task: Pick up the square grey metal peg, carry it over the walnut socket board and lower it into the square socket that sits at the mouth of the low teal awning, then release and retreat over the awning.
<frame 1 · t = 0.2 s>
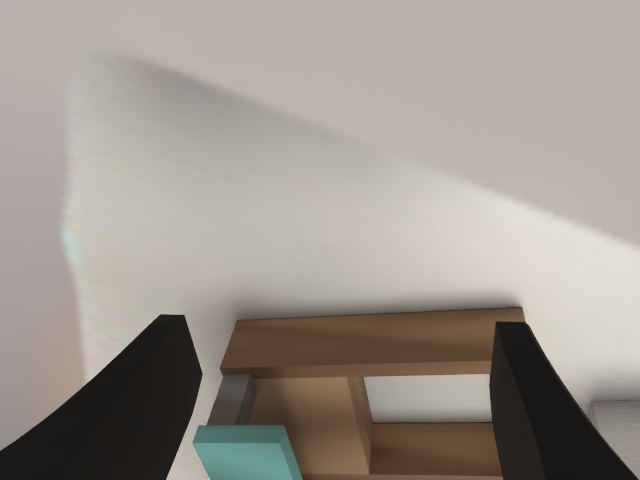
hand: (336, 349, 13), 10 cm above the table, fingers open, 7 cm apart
socket board: (386, 395, 29), on the table
peg: (638, 430, 28), on the table
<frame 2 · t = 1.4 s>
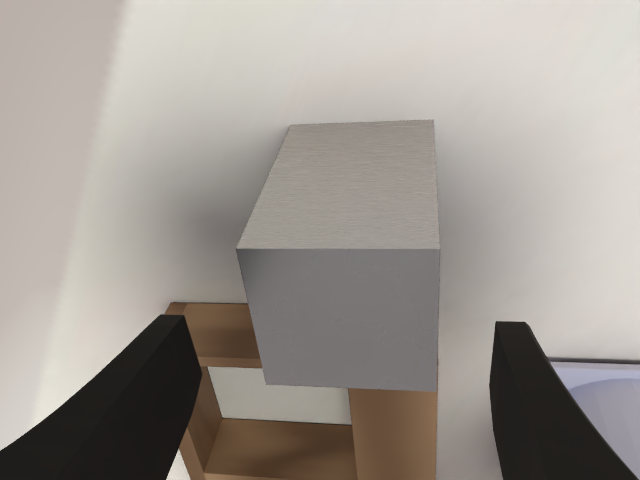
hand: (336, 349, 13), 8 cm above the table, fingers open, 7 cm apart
socket board: (314, 410, 27), on the table
peg: (364, 184, 20), on the table
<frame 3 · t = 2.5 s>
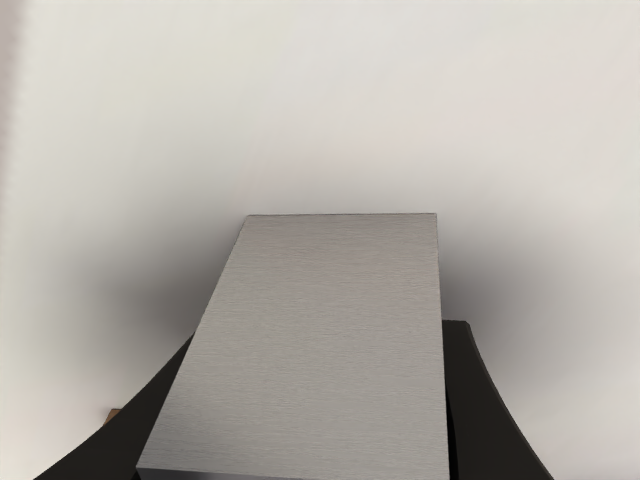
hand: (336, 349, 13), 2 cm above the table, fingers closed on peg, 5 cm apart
peg: (346, 288, 15), on the table, touching gripper
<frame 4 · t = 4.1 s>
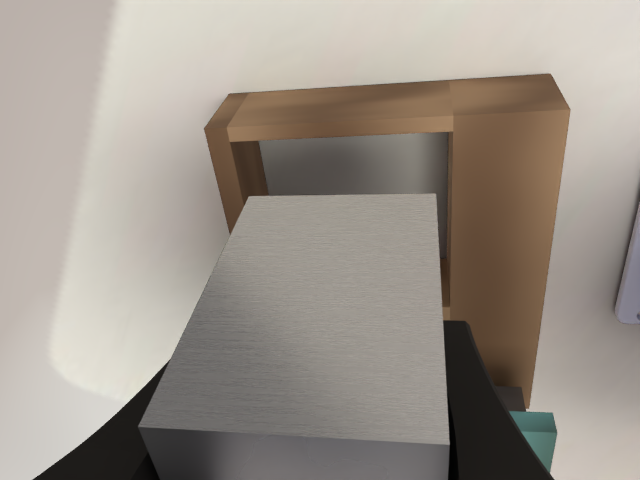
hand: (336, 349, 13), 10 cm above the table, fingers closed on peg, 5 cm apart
socket board: (390, 239, 23), on the table
peg: (346, 270, 15), point 7 cm above the table, touching gripper
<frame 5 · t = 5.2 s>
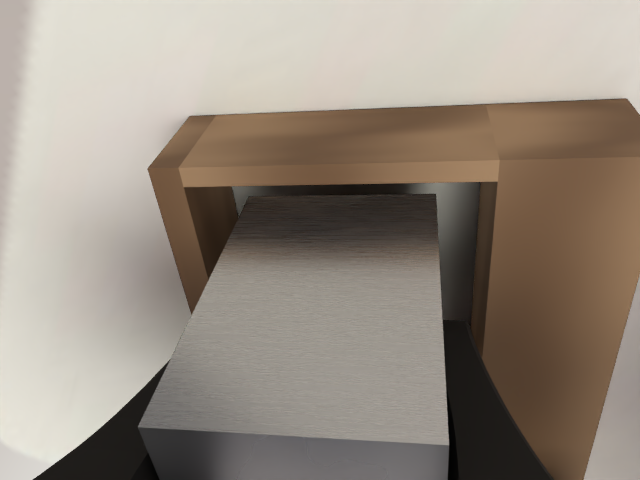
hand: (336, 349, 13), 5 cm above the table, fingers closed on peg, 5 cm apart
socket board: (399, 301, 18), on the table
peg: (346, 270, 15), point 2 cm above the table, touching gripper
when the fingers open (3 cm above the table, at t = 5.9 s): peg stays where it is, resting in socket board.
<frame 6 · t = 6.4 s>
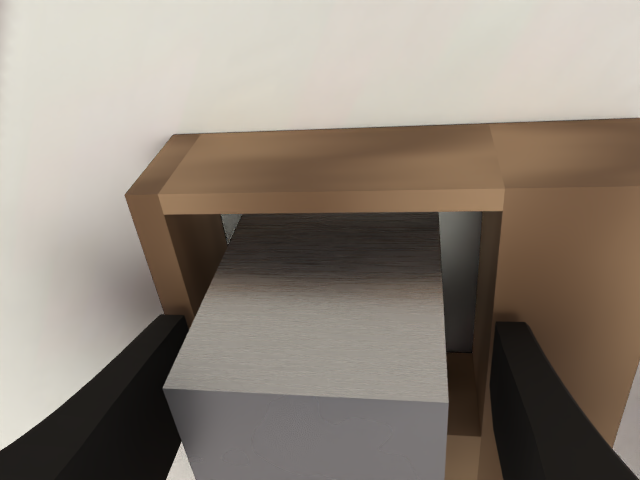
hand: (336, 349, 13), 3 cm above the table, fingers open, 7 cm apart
socket board: (397, 327, 17), on the table
peg: (350, 251, 16), resting in socket board
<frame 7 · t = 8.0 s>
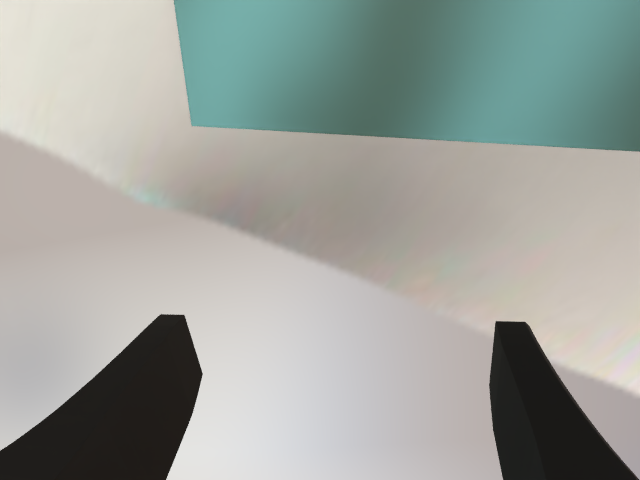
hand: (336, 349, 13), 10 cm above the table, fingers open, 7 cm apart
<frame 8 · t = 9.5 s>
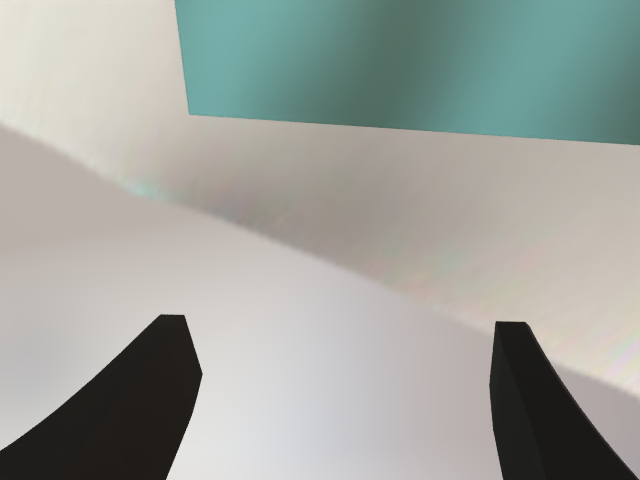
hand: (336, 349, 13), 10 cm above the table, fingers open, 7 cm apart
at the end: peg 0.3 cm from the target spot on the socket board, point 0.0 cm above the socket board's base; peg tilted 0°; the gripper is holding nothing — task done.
